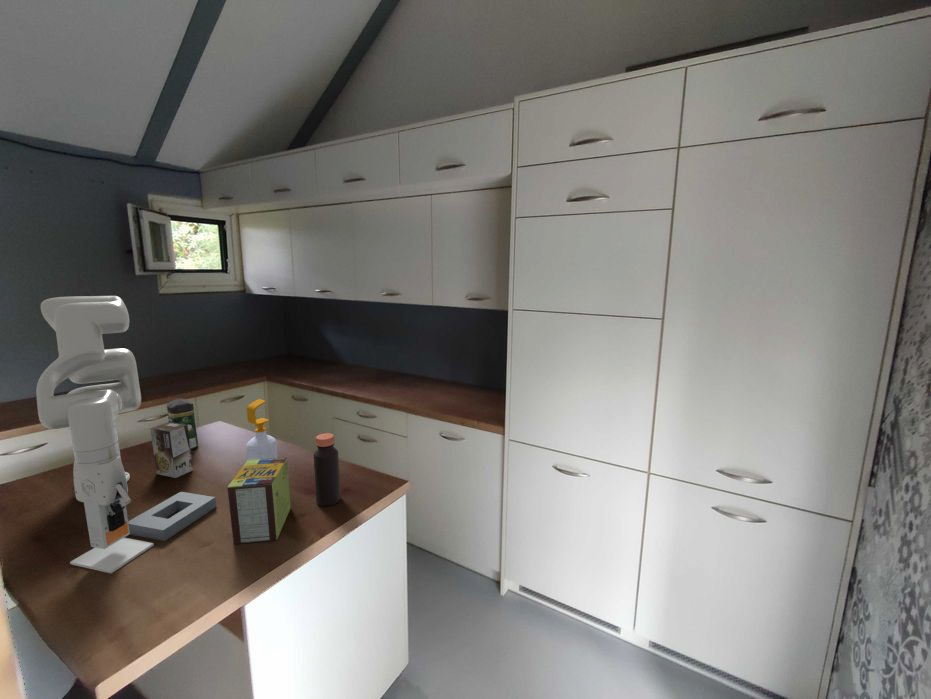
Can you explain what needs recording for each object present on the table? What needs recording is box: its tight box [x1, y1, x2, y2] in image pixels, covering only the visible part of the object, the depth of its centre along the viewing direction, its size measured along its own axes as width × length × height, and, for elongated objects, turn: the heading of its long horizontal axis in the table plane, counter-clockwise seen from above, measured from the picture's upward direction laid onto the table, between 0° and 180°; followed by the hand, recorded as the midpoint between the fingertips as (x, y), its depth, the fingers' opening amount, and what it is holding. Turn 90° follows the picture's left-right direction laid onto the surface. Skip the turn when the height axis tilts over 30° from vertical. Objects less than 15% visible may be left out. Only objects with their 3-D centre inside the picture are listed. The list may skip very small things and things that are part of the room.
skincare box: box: [83, 497, 131, 549], centre depth 98 cm, size 6×4×12 cm
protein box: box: [227, 457, 292, 545], centre depth 110 cm, size 10×15×16 cm
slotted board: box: [128, 491, 217, 542], centre depth 113 cm, size 12×16×3 cm
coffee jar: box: [166, 398, 199, 450], centre depth 158 cm, size 10×8×19 cm
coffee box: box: [149, 421, 194, 479], centre depth 139 cm, size 9×6×16 cm
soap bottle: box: [246, 398, 279, 460], centre depth 139 cm, size 9×9×25 cm
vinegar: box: [313, 432, 341, 507], centre depth 122 cm, size 7×7×20 cm
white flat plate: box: [69, 537, 155, 574], centre depth 99 cm, size 12×10×1 cm
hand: (108, 525), depth 98 cm, fingers closed on skincare box, 4 cm apart
